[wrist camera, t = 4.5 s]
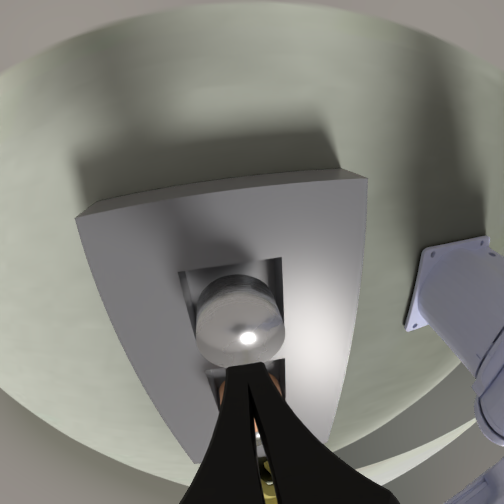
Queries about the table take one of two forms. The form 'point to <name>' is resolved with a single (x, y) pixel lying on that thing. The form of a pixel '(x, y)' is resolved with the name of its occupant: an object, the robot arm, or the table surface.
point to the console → (230, 263)
